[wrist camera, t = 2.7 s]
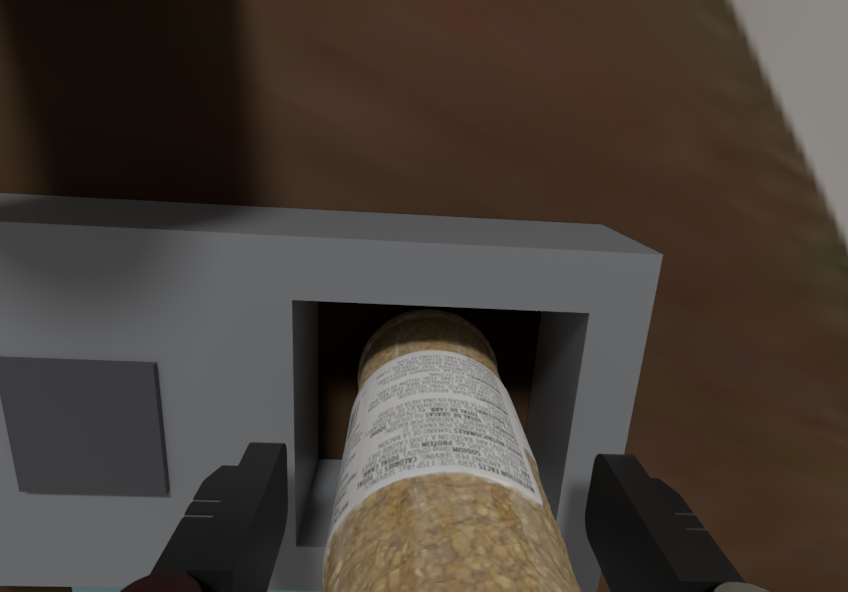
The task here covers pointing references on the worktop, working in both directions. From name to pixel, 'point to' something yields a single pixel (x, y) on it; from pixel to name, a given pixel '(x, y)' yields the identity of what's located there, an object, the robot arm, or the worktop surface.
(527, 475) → the sprinkles bottle
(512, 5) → the worktop surface
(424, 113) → the worktop surface
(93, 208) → the power strip
